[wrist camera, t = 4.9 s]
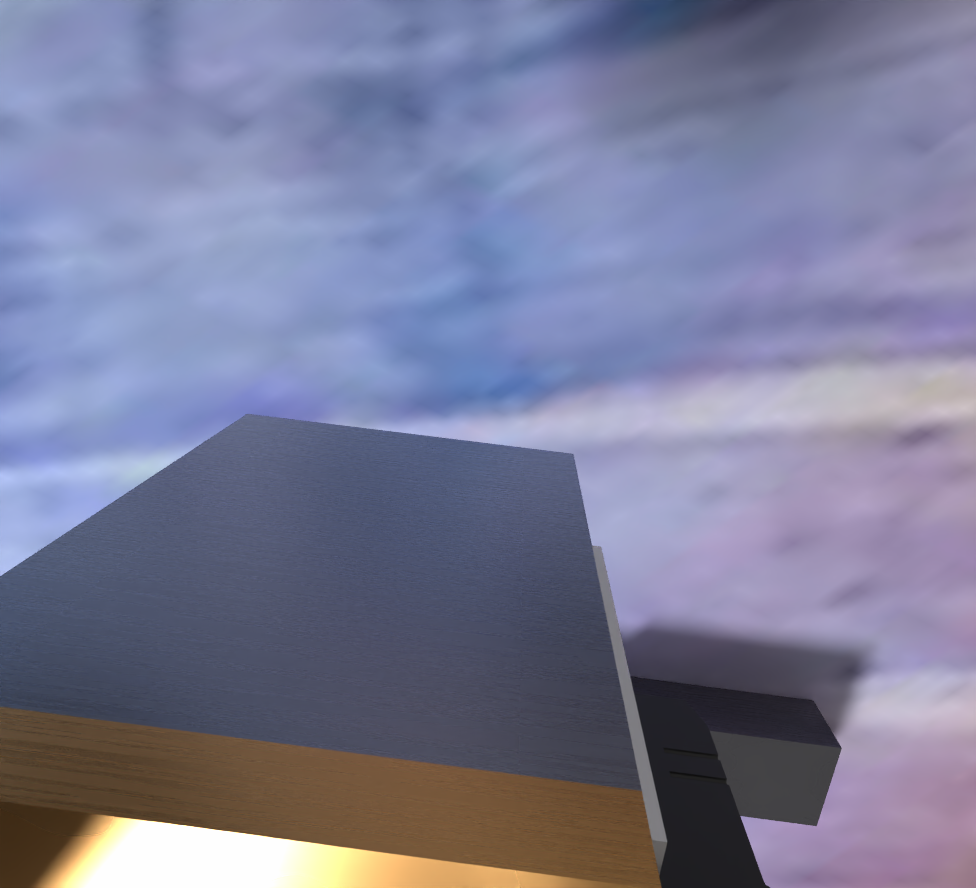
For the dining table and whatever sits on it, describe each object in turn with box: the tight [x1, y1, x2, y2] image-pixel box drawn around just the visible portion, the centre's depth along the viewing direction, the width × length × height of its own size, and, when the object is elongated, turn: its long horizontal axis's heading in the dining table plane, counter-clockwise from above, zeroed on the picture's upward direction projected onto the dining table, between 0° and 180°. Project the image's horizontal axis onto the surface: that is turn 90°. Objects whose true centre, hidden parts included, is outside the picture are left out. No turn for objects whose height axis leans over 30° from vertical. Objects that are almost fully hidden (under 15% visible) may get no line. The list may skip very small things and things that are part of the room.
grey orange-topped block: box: [0, 414, 661, 888], centre depth 9 cm, size 6×6×9 cm
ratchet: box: [630, 677, 842, 826], centre depth 27 cm, size 22×7×8 cm, turn 84°
